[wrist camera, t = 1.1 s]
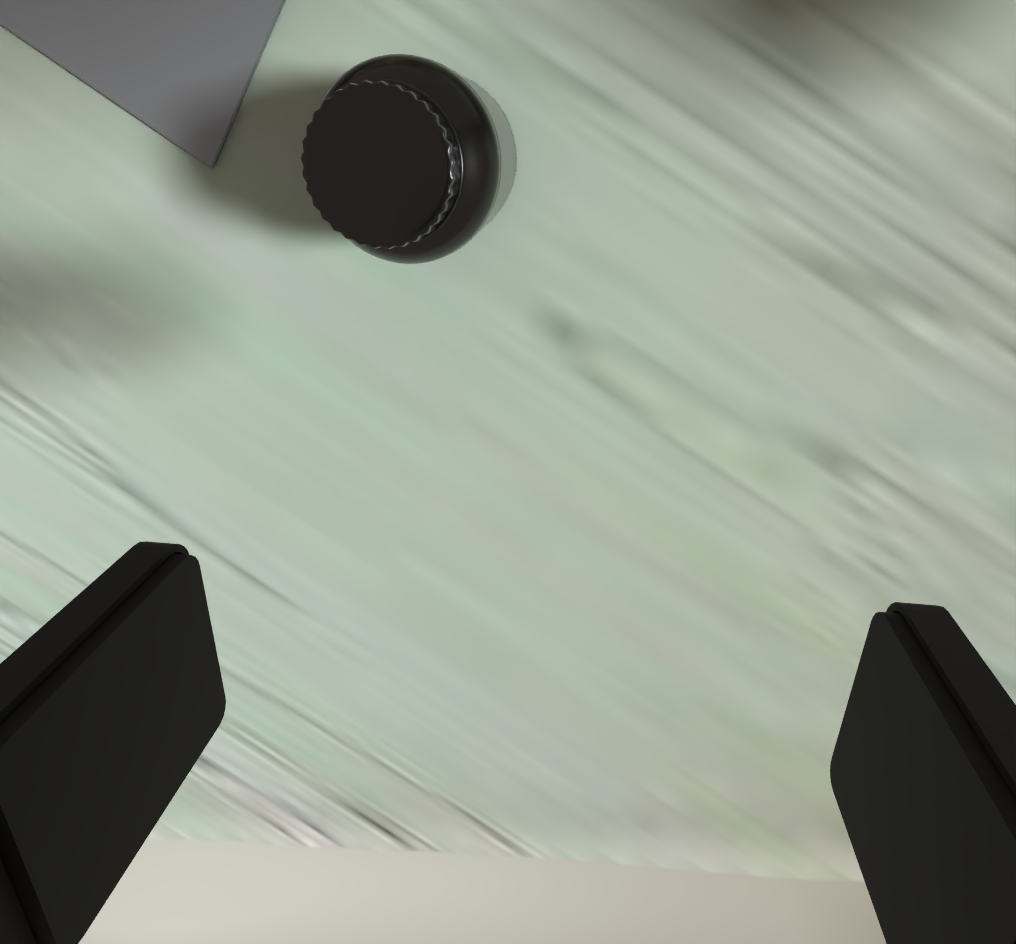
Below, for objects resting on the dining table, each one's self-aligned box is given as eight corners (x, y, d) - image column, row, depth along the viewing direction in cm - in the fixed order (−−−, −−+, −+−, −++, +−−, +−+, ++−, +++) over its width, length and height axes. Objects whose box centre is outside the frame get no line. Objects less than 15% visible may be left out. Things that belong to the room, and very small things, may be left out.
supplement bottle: (432, 266, 35) (358, 324, 24) (341, 139, 33) (217, 139, 22) (550, 178, 33) (528, 198, 22) (460, 36, 31) (387, -20, 20)
